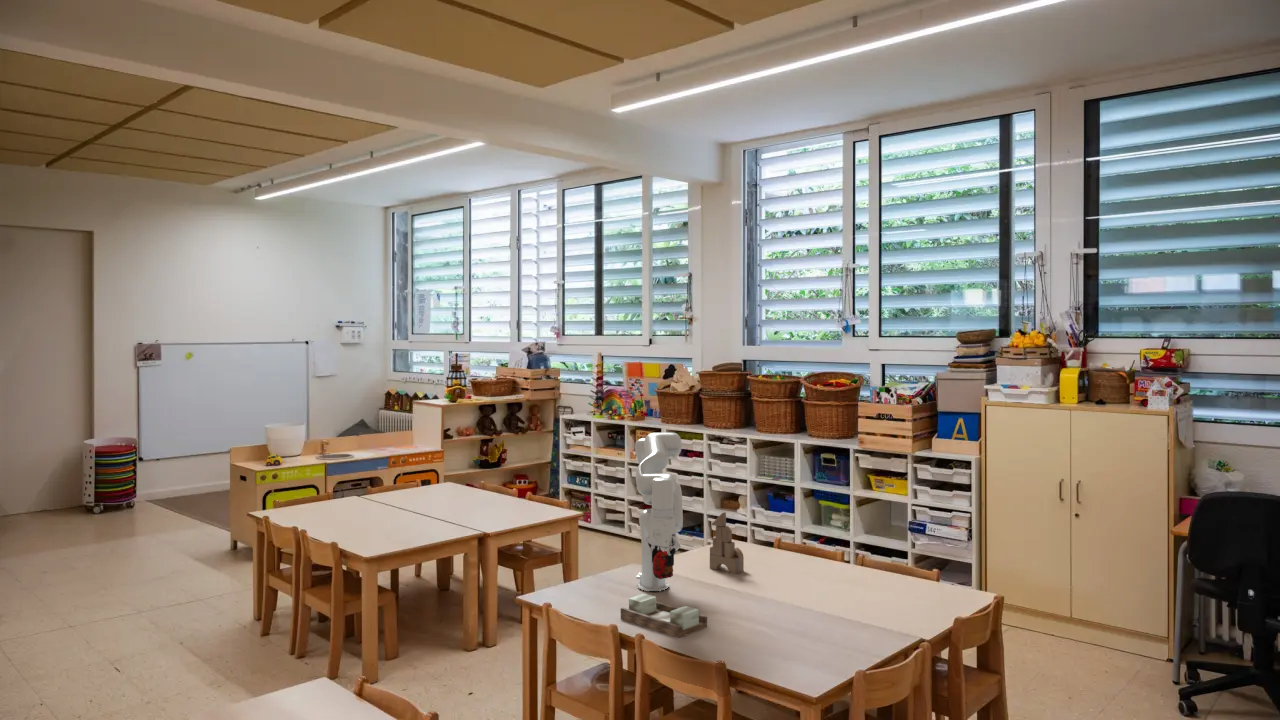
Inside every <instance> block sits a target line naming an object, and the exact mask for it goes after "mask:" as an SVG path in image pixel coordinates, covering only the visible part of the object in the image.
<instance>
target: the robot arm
mask: <svg viewBox="0 0 1280 720" xmlns="http://www.w3.org/2000/svg"><path fill="white" fill-rule="evenodd" d="M682 445H683V444H682V439H681V436H680V435H679V434H678V433H676V432H651V433H649V434H647V435H646V436H645V437H644V438H639V439H637V440H636V441H635V445H634V450H635V456H636V458H637V459H636V460H637V461H638V466H637V468H636V471H635V482H636V483H635V484H636V490H637V491H638V494H640V495H642V502H643V503H644V504H645V505H649V506H651V508H646V509H644V510H642V511H640V513H639V516H638V522H639V523H638V524H639V529H640V538H641V572H639V573H637V575H636V576H635V579H636V580H639V583H638V584H637V588H638V589H639V590H640V589H641V590H640V591H643V590H644V591H643V592H649V591H659V592H661V591H660V590H664V591H666V590H665V589H667V588H668V587H669V588H670V583H669V582H667V581H666V578H664V579H659V578H656V577H655V576H654V574H653V561H654V557H655V555H656V554H657V553H658V551H659V547H660V548H661V550H662V551H663V552H664V551H667V553H668V555H667V556H666V566H667V567H670V566H673V567H674V565H675V555H676V553H677V552H678V550H679V549H680V548H681V543H679V541H678V539H677V537H678V536H677V533H678V532H681V531H682V529H683V524H684V521H683V520H684V517H683V513H684V512H683V495H682V488H681V487H682V486H681V484H680V483H679V482H678V481H677V478H676V477H675V476H674V475H673V474H671V473H663V470H664V469H665V468H666V467H667V466H668V464H669V460H670V459H671V460H673V459H677V458H678V456H679V455H680V454H681V452H682V449H683V448H682ZM669 588H668V589H669ZM668 589H667V590H668Z"/></svg>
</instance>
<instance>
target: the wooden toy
mask: <svg viewBox="0 0 1280 720" xmlns="http://www.w3.org/2000/svg"><path fill="white" fill-rule="evenodd" d="M711 526H715V536H712V546H711V547H709V569H711V570H716V571H717V570H720V569H722V568H721V567H722V565H724V566H725V567H726V569H727V570H728V574H732V575H737V574H740V573H742V572H744V565H745V564H744V562H745V561H744V560H745V559H744V553H743V551H742V550H741V549H740V548H739V547H736V545H735V542H734V541H732V540H733V538H732V537H733V533H732V532H733V531H732V529H731V528H730V527H729V525H727V513H726V512H722V513H721V514H720V515H719V516H718V517H717V518H716V519H715V520H714V521H713V522H712V523H711Z"/></svg>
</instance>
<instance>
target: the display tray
mask: <svg viewBox="0 0 1280 720" xmlns="http://www.w3.org/2000/svg"><path fill="white" fill-rule="evenodd" d="M620 619H623V620H626V621H629V622H631V623H635V624H637V625H640V626H643V627H647V628H649V629H652V630H656V631H658V632H661V633H664V634H666V635H667V634H668V635H670V636H673V637H677V638H682V637H684V636H687V635H690V634H693V633H694V632H697V631H700V630H702V629H705V628H706V627H708V616H707V615H703V614H701V613H700V610H699V609H698V608H695V607H692V606H688V605H684V606H681V607H678V606H677V607H676V606H673V605H669V604H666V603H663V602H660V601H657V596H655V595H651V594H647V593H641V594H639V595H635V596H632V597H629V598H628V608H625V607H621V608H620Z"/></svg>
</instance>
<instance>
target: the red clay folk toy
mask: <svg viewBox="0 0 1280 720" xmlns="http://www.w3.org/2000/svg"><path fill="white" fill-rule="evenodd" d="M667 555H668V553H667V550H665V551H664V552H663V551H662V550H661V548H660V547H659V551H658V553H657V554H656V555H655V557H654V561H653V574H654V576H655V577H656V578H659V579H664V578H665V579H668V578H672V577H673V576H674V565H673V566H670V567H667V566H666V556H667Z"/></svg>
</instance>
